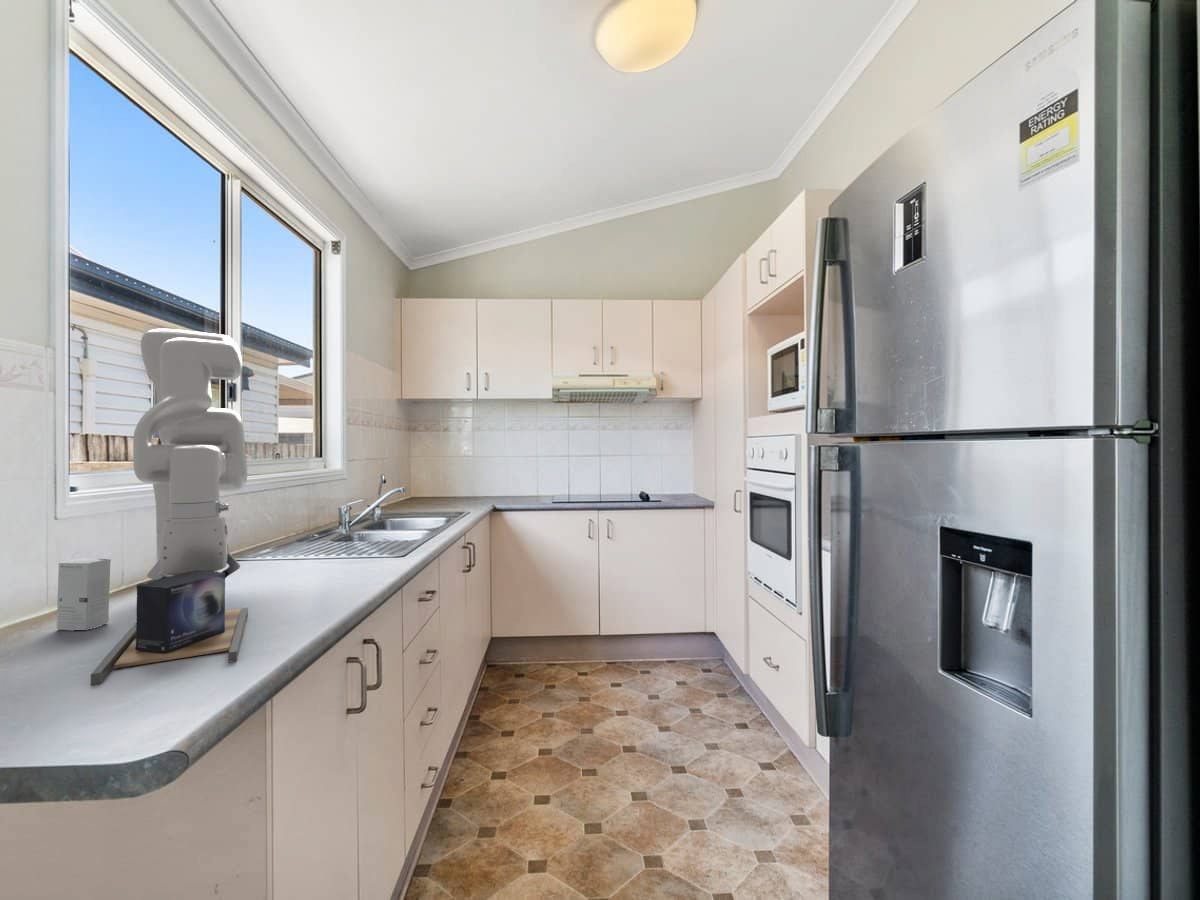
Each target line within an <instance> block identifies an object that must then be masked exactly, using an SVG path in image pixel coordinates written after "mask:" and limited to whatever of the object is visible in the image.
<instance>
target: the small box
mask: <svg viewBox="0 0 1200 900" xmlns="http://www.w3.org/2000/svg"><path fill="white" fill-rule="evenodd" d="M225 610H226V578H225V573H222V571H221V572H219V571H218V572H211V571H200V570H196V571H191V572H187V573H183V574H179V575H174V576H170V577H166V578H162V579H157V580H153V579H152V580H149V581H144V582H140V583H137V584H136V618H135V619H136V622H135V623H136V647H135V650H138V651H148V652H158V653H169V652H171V651H174V650H177V649H180V648H182V647H185V646H188V645H190V644H193V643H196V642H198V641H201V640H204V639H207V638H209V637H212V636H215V635H218V634H220V633H223V632H225Z"/></svg>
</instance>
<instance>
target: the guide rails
mask: <svg viewBox="0 0 1200 900" xmlns="http://www.w3.org/2000/svg"><path fill="white" fill-rule="evenodd" d="M240 609H241V612H240V616H239V619H238V623H237V626H236V629H235V633H234V636H233V640H232V643H231V646H230V650H229V651H228V663H231V662H230V661H234V662H237V661H238V657H239V653H240V650H241V646H242V641H243V639H244V638H243V637H244V633H245V629H246V624H247V622H248V618H249V607H241V608H240ZM135 638H136V622H135V623H134V624H132V627H130V629H129V630H128V631H127V632H126V633H125V634H124V635H123V637H121V639H119V641H118V643H117V644H116V645H115V646H114V647H113V648H112V650H110V652H109V653H108V654H107V655H106V656H105V657H104V658H103V660H102V661H101V662H100V663H99V664H98V665H97V666H96V667H95V669H94V670H93V671H92V672H91V673H90V686H95V685H101V684H102V683H103V681H104V680H105V679H106V678H107V676H108V675H109V673H110V672H111V671H112V670H113V669H114V664H115V663H116V662H117V660H118V659H119V658H120V657H121V656H122V654H123V653H124V652H125V651H126V649H127V648H128V647H129V646H130V644H131V643H132V642H133V641H134V639H135Z"/></svg>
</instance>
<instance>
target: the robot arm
mask: <svg viewBox="0 0 1200 900" xmlns="http://www.w3.org/2000/svg"><path fill="white" fill-rule="evenodd" d="M140 349H141V357H142V361H143V364H144V367H145V370H146V372H147V374H148V376H149V378H150V380H151V382H152V385H153V386H154V389H155V391H156V392H155V393H156V403H155V404H153V406H152V407H150V408H149V409H148V410H147V411H146V412H145V413H144V414H143V415H142V416H141V417H140V419H139V421H138V422H137V424H136V426H135V428H134V432H133V439H132V440H133V441H132V445H133V448H132V452H133V453H132V454H133V455H132V462H133V471H134V475H135V476H136V478H137V479H138V481H140V482H142V483H145V484H151V485H152V487H153V492H154V493H153V494H154V502H155V514H156V515H155V517H156V518H155V519H156V520H155V521H156V522H155V523H156V563H155V564H154V566H153V567H152V568H151V569H150V571H149V572H148V573H147V575H146V576H147V578H148V579H151V580H152V581H153V580H157V579H162V578H166V577H170V576H174V575H179V574H183V573H187V572H191V571H196V570H200V571H211V572H219V571H220V570H222V569H224V568H225V569H224V570H222V571H221V572H222V573H225V579H226V578H227V577H228V576H230V575H232V574H233V573H235V572H236V571H238V570H240V567H241V564H240V563H239V562H238V561H237V559H236V558H235V557H234V556H233V555H232V554H231V553H230V547H229V535H228V534H229V533H228V526H227V523H226V519H225V516H222V515H221V513H223V512H228V511H229V509H230V508H229V505H230V504H229V503H223V502H221V500H220V493H227V492H228V493H231V492H237V491H240V490H242V489H243V488H244V487H245V486H246V484H247V481H248V463H247V454H246V453H247V452H246V442H245V441H246V440H245V431H244V424H243V420H242V418H241V415H240V414H239V413H238V412H237V411H235V410H233V409H230V408H224V407H223V408H221V407H220V408H219V407H217V408H216V407H212V405H213V395H212V385H211V379H212V380H227V381H233V380H237V379H238V378H239V377H240V376H241V374H242V370H243V358H242V355H241V354H242V353H241V350H240V348H239V346H238V345H237V343H236V342H235V341H234V339H233V338H232V337H231V336H229V335H225V334H220V333H219V334H218V333H210V332H203V331H193V330H183V329H173V328H155V329H150V330H147V331H146V332H144V333H143V334H142V337H141V340H140ZM156 432H157V433H158V437H159V439H160V442H161V443H162V444H153V443H152V439H153V435H154V434H155V433H156ZM220 515H221V516H220ZM227 565H228V567H227ZM226 567H227V568H226Z"/></svg>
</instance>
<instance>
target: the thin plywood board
mask: <svg viewBox="0 0 1200 900" xmlns="http://www.w3.org/2000/svg"><path fill="white" fill-rule="evenodd" d="M241 609H242V608H234V609H225V632H223V633H220V634H218V635H215V636H212V637H209V638H207V639H204V640H201V641H198V642H196V643H193V644H190V645H188V646H185V647H182V648H180V649H177V650H174V651H171V652H169V653H158V652H148V651H138V650H135V647H136V638H135V639H134V641H133V642H132V643H131V644H130V646H129V647H128V648H127V649H126V651H125V652H124V653H123V654H122V656H121V657H120V658H119V659H118V660H117V662H116V663H115V664H114V667H113V669H119V668H127V667H132V666H139V665H144V664H145V665H146V664H151V663H158V662H163V661H164V662H165V661H171V660H177V659H182V658H183V659H184V658H189V657H194V656H195V657H197V656H202V655H208V654H215V653H216V654H217V653H222V652H227V651H228V652H229V650H230V646H231V643H232V640H233V636H234V633H235V629H236V626H237V623H238V619H239V616H240V612H241Z"/></svg>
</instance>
